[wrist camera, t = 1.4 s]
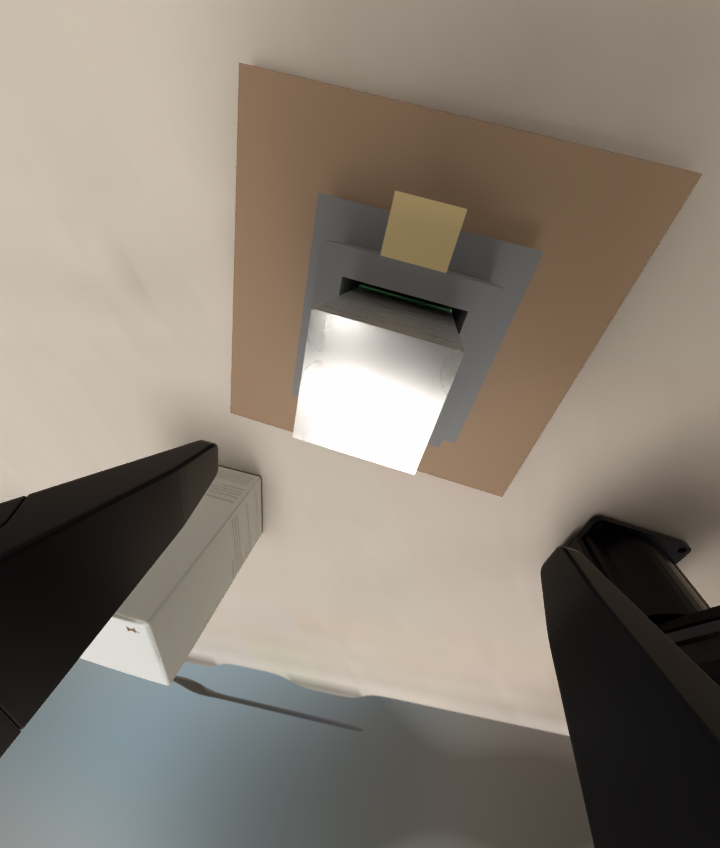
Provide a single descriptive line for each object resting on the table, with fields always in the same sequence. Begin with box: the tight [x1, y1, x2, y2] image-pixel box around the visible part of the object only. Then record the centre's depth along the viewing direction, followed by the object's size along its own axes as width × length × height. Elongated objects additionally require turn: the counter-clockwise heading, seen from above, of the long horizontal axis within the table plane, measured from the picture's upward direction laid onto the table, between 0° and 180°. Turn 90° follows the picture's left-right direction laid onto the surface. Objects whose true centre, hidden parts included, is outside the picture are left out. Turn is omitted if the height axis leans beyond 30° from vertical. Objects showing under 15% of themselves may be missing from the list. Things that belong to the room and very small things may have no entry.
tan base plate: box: [231, 63, 702, 497], centre depth 16 cm, size 20×18×7 cm
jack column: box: [293, 283, 465, 475], centre depth 13 cm, size 4×4×10 cm
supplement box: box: [80, 466, 262, 685], centre depth 24 cm, size 7×7×13 cm
